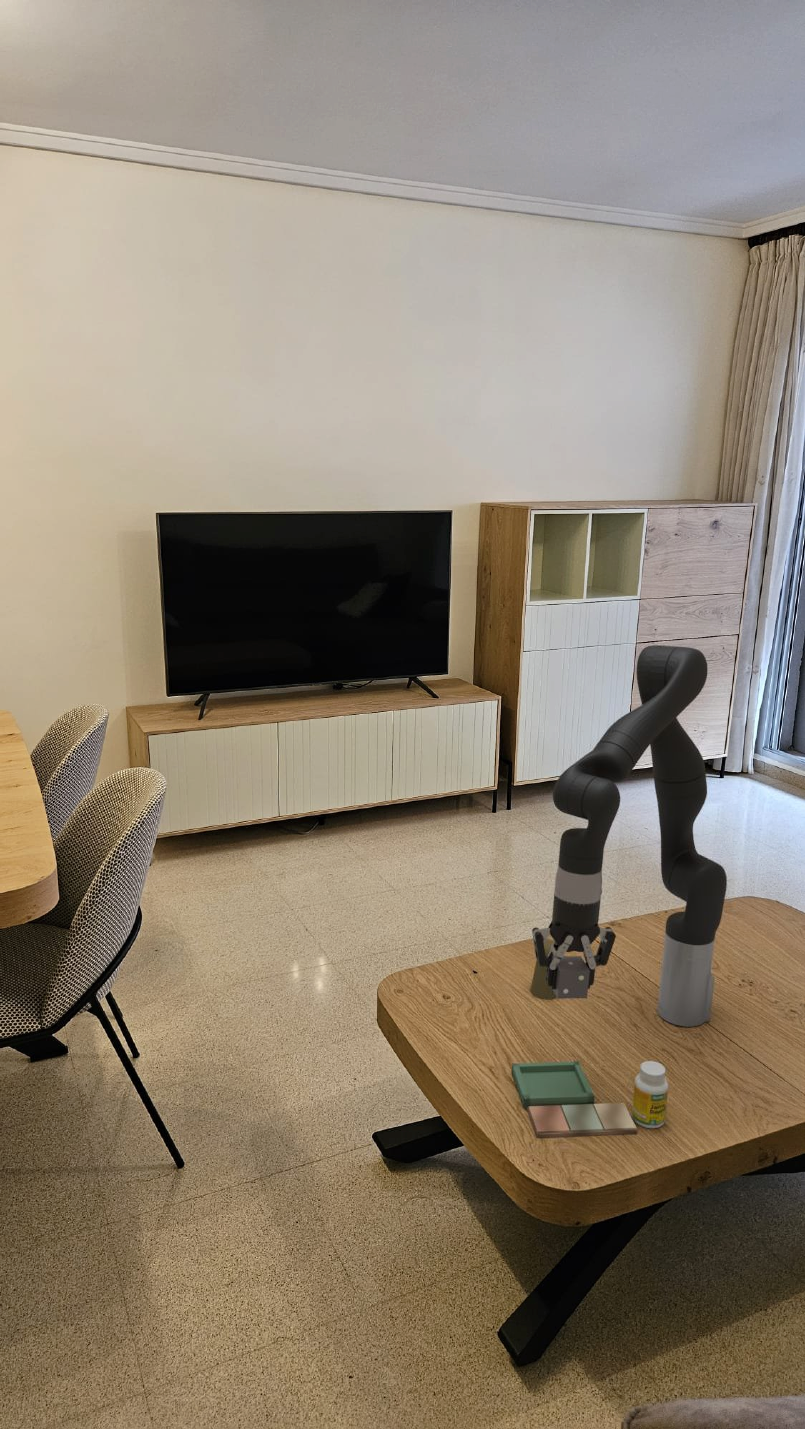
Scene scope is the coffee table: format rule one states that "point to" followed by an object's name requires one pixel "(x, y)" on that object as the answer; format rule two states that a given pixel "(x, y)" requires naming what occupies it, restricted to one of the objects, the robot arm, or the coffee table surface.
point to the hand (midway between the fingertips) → (568, 986)
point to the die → (572, 978)
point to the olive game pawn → (542, 978)
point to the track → (581, 1120)
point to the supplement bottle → (650, 1095)
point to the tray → (552, 1084)
